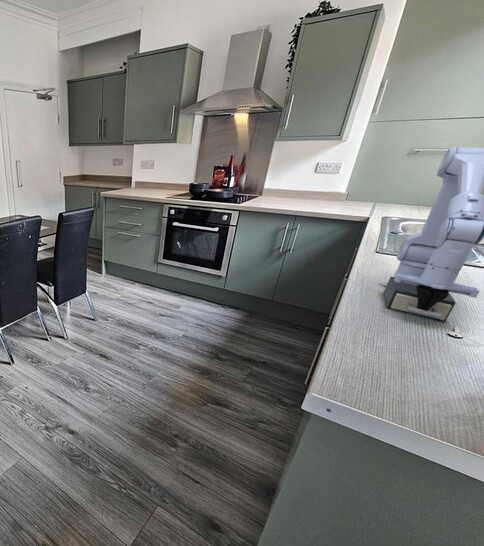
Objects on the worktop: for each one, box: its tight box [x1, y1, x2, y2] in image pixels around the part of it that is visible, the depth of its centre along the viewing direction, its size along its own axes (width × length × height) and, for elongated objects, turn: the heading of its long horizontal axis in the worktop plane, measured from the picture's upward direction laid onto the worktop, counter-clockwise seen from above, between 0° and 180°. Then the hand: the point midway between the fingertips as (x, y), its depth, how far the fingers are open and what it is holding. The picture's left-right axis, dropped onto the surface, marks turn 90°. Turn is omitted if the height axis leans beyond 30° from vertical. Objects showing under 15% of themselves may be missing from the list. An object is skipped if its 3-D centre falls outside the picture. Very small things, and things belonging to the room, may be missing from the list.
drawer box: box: [382, 276, 457, 323], centre depth 90 cm, size 13×12×6 cm
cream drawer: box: [391, 293, 452, 320], centre depth 87 cm, size 17×10×4 cm, turn 141°
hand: (420, 312), depth 84 cm, fingers closed, pressing on cream drawer
